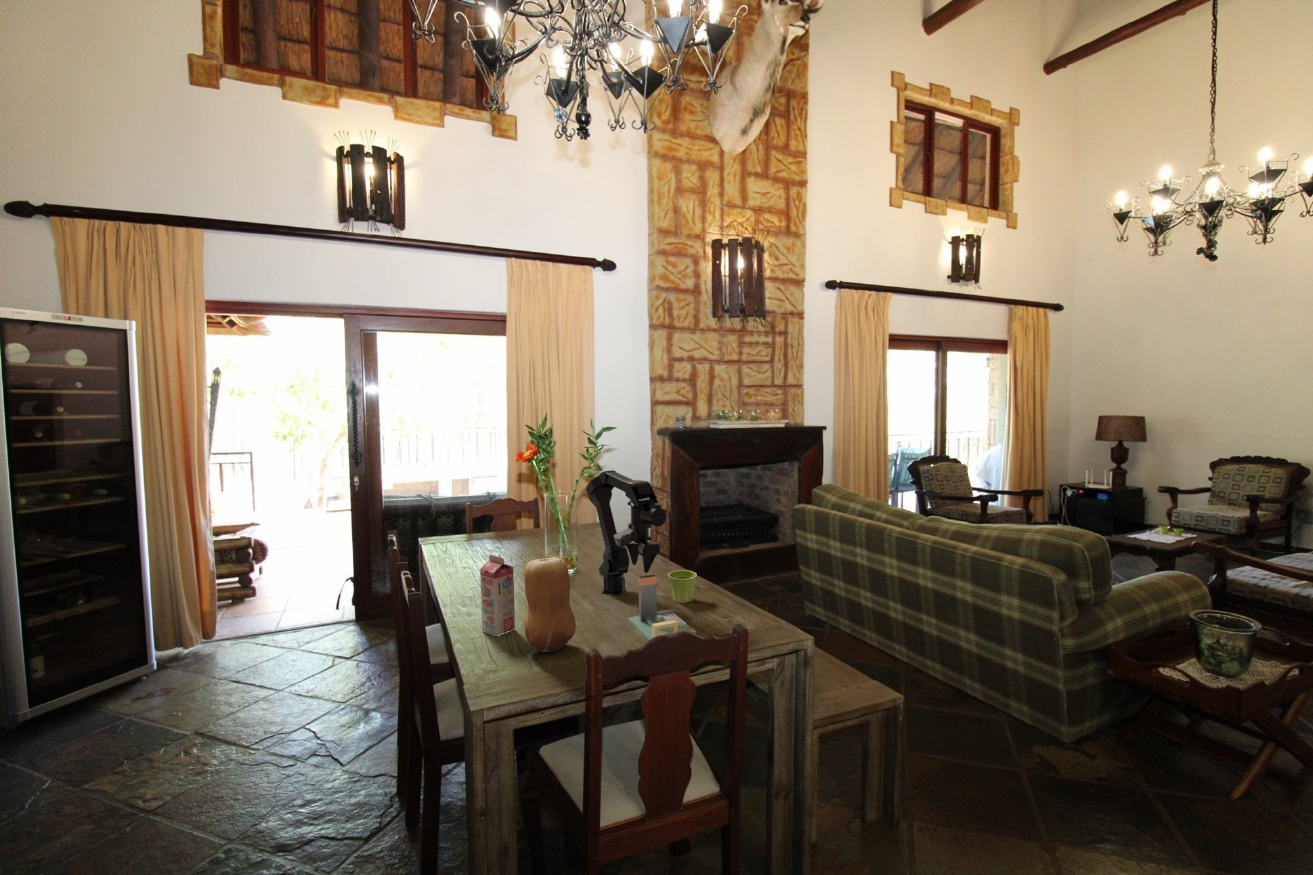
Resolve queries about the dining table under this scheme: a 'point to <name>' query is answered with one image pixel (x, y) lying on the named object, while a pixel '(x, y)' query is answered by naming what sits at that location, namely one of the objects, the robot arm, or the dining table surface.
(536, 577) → the butternut squash
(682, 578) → the plant pot
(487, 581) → the juice carton
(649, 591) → the orange-rimmed grey tower
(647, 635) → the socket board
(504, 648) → the dining table surface
